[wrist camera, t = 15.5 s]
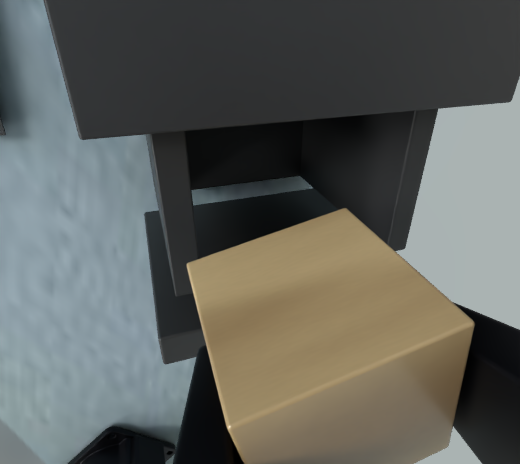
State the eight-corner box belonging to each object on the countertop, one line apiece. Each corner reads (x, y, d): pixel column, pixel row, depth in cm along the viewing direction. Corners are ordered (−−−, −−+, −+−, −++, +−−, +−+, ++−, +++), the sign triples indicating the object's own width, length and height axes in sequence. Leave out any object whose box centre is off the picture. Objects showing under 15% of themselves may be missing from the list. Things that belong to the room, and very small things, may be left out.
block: (353, 318, 11) (450, 447, 8) (227, 368, 10) (275, 532, 7) (346, 206, 9) (477, 322, 6) (185, 262, 8) (226, 430, 5)
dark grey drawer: (309, 267, 24) (391, 377, 16) (160, 297, 21) (179, 443, 14) (332, -37, 15) (517, -84, 8) (95, -46, 13) (62, -123, 6)
